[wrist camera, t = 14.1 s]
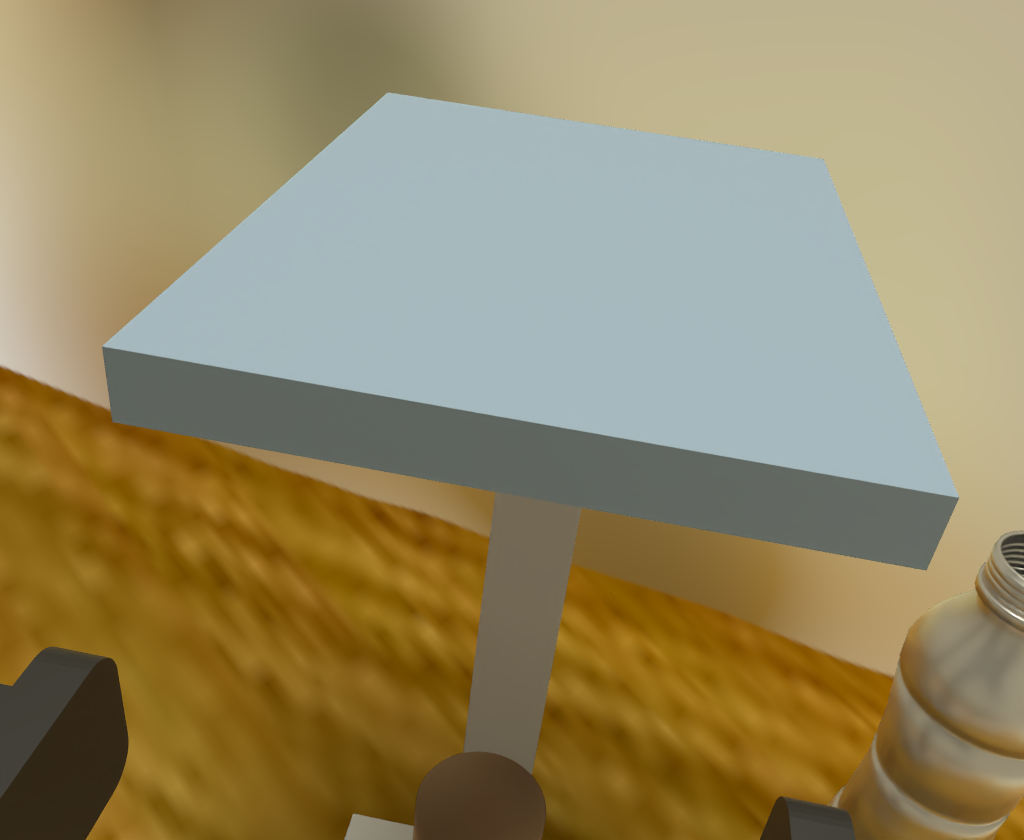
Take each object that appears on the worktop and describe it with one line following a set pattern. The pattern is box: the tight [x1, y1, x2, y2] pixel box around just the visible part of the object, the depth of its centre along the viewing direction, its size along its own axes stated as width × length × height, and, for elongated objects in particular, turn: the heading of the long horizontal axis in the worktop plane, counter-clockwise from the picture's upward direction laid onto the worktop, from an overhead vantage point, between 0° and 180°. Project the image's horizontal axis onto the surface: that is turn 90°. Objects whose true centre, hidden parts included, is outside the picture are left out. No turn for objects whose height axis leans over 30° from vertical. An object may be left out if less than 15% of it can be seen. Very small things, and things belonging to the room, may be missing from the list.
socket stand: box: [102, 93, 959, 840], centre depth 31 cm, size 18×14×32 cm
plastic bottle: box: [827, 531, 1024, 840], centre depth 38 cm, size 6×7×20 cm
